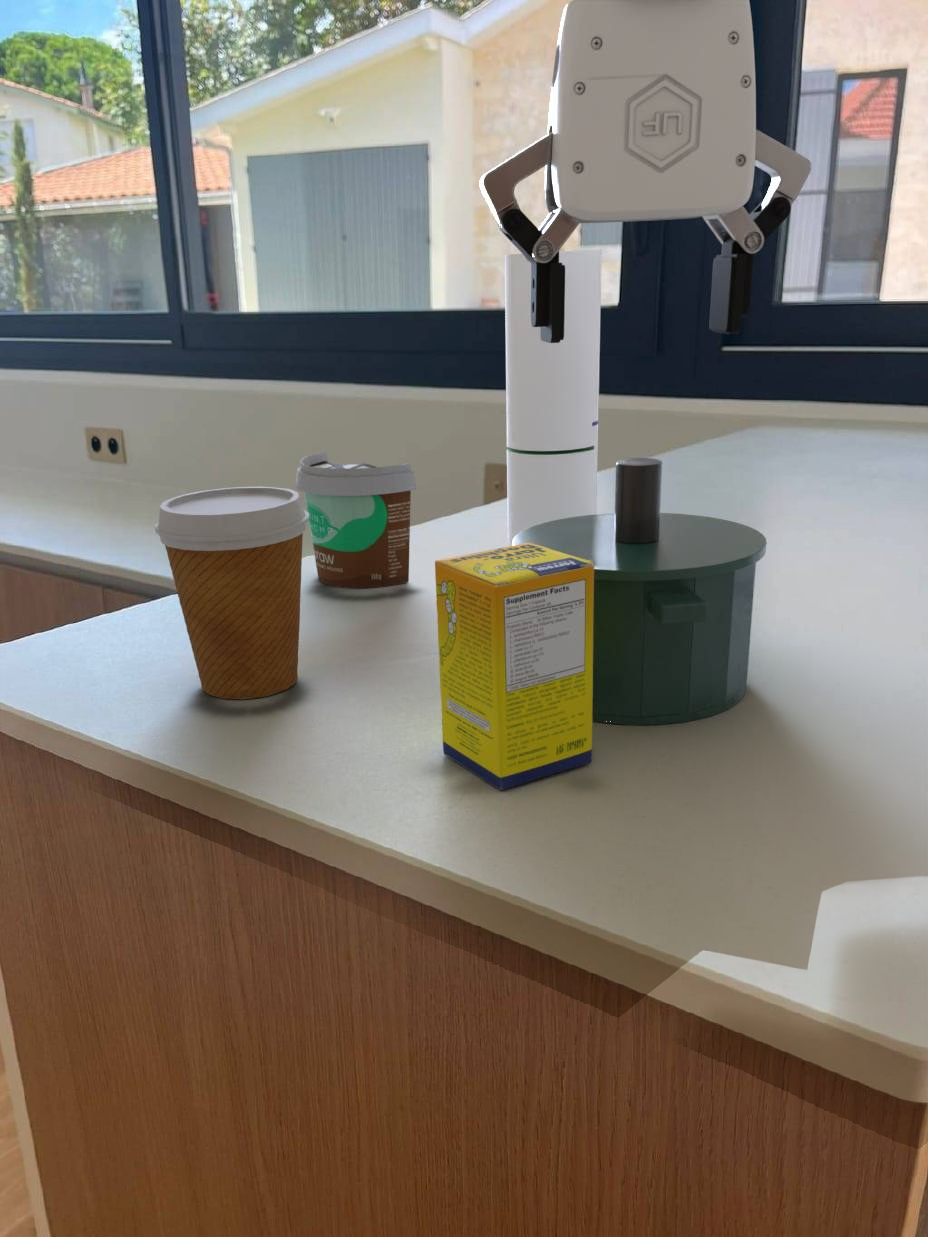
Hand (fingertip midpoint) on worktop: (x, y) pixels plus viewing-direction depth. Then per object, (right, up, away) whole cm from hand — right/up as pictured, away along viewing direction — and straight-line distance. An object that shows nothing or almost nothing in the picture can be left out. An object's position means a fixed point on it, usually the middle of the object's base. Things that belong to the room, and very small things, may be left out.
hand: (638, 336), depth 61 cm
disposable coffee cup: (-23, -19, +12) cm, 32 cm away
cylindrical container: (0, -9, +31) cm, 32 cm away
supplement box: (-7, -23, -2) cm, 25 cm away
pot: (+1, -19, +8) cm, 20 cm away
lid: (+1, -11, +4) cm, 12 cm away
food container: (-17, -9, +34) cm, 39 cm away
